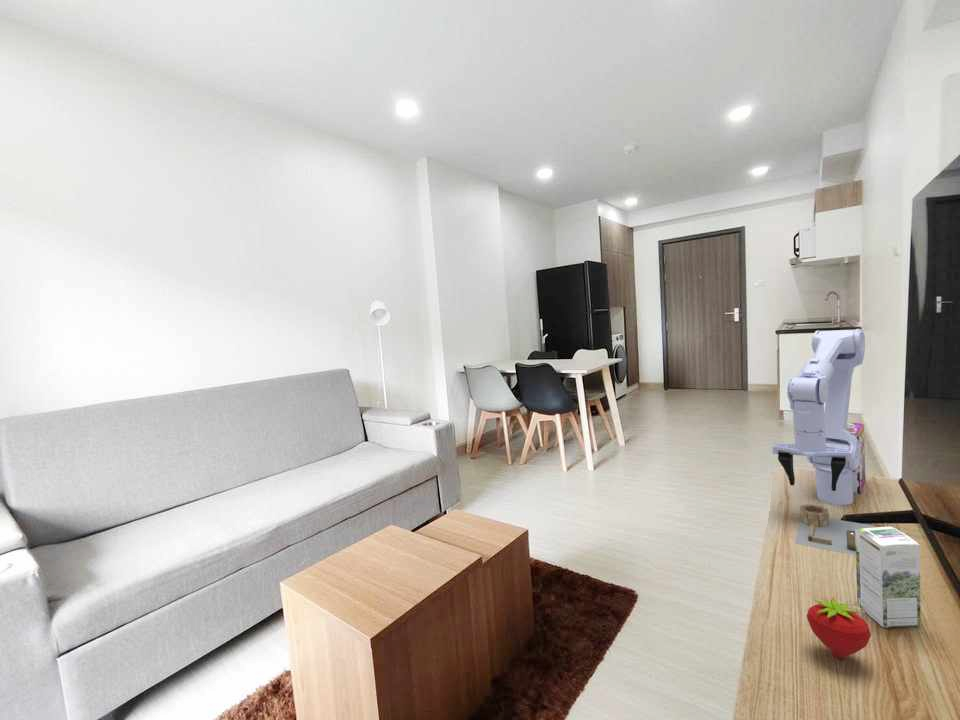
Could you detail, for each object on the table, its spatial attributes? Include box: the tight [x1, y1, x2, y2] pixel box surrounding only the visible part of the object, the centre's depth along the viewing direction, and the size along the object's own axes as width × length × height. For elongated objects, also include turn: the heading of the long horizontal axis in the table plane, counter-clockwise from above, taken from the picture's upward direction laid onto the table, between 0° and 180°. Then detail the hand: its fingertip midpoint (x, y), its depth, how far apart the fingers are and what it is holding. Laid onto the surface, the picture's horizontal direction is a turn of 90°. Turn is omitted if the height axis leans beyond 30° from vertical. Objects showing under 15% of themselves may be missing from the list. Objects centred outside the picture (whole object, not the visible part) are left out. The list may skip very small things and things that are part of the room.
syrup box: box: [855, 526, 922, 629], centre depth 73 cm, size 6×6×14 cm
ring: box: [799, 503, 830, 527], centre depth 103 cm, size 5×5×3 cm
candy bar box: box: [837, 422, 866, 495], centre depth 118 cm, size 11×5×16 cm, turn 134°
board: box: [794, 511, 876, 556], centre depth 97 cm, size 15×13×3 cm
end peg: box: [846, 530, 856, 551], centre depth 91 cm, size 2×2×4 cm
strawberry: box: [806, 597, 872, 659], centre depth 67 cm, size 6×8×10 cm
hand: (812, 486), depth 102 cm, fingers open, 7 cm apart
